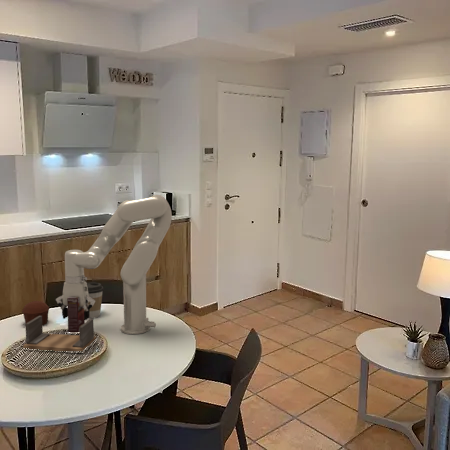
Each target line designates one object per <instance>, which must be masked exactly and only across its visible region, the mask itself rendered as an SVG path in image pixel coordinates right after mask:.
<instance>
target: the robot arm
mask: <svg viewBox="0 0 450 450" xmlns="http://www.w3.org/2000/svg"><path fill="white" fill-rule="evenodd" d="M172 214H173V213H172V209H171V206H170V204H169V202H168V200H167V199H166V197H164V196H162V195H161V194H154V195H151V196H150V197H146V198H141V199H134V200H133V199H126V200H124V201H122V202H121V203H120V204H119V205H118V207H117V208H116V209H115V211H114V213H113V214H112V215H111V217H110V218H109V220H108V221H107V222H106V223H105V225H104V226H103V227H102V230H101V232H100V234H99V236H98V237H97V238H96V240H95V241H94V243H93V244H92V245H91V246H90V247H89V249H88V250H87V251H83V250H80V249H70V250H69V249H68V250H66V251H65V253H64V271H65V272H64V274H65V277H64V278H65V281H64V282H63V288H62V295H60V296H58V297H57V298H55V301H56V303H57V306H59V308H60V309H61V316H62V319H63V320H65V319H66V318H68V307H67V298H68V297H79V304H80V306H82V307H83V308H84V309H85V311H84V320H85V321H88V320H89V319H90V318H89V316H90V313H89V309H90V308H91V307H93V305H94V303H95V300H94V299H92V298H90V297H89V294H88V287H87V283H88V282H87V280H88V277H86V276H85V269H88V270H93V269H97V268H98V267H99V266H101V264H102V262H103V261H104V260H105V258H106V257H107V255H108V254H109V253H110V251H111V250H112V248H113V247H114V246H115V244H117V243H118V242H119V241H120V240H121V238H123V236H124V235H125V233H126V232H127V231H128V230H129V228H130V227H131V226H132V224H133V223H134V222H139V221H146V220H150V221H149V222H148V224H147V226H146V227H145V230H144V232H143V233H142V235H141V236H140V238H139V239H138V240H137V242H136V243H135V245H134V247H133V249H132V250H131V252H130V254H129V256H128V258H127V259H126V260H125V262H124V264H123V265H122V268H121V270H120V278H121V280H122V282H123V283H122V285H123V287H122V290H123V294H122V295H123V325H121V326H120V331H121V333H123V334H127V335H140V334H144V333H147V332H148V331H150V330H151V328H154V329H155V328H156V325H157V324H156V322H155V321H150V320H149V317H147V273H148V271H149V270H150V269H151V268H150V267H151V266H152V264H153V262H154V261H155V259H156V257H157V254H158V252H159V251H158V250H159V248H160V245H161V244H162V242H163V240H164V238H165V237H166V234H167V233H168V231H169V229H170V227H171V223H172V220H173V219H172V218H173V216H172ZM89 301H90V305H88V304H87V303H89Z"/></svg>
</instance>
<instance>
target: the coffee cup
mask: <svg viewBox="0 0 450 450" xmlns="http://www.w3.org/2000/svg"><path fill="white" fill-rule="evenodd" d="M86 283H87V287H88V294H89V297H90V298H92V299H94V300H95V303H94V305H93V307H91V308H90V309H89V313H90V316H89V318H88V319H96V318H99V317H100V316H101V312H102V311H101V310H102V302H103V301H102V300H103V291H104V290H105V289H104V286H102V283H100V282H86ZM87 304H88V305H90V301H89V303H87ZM84 311H85V309H84Z"/></svg>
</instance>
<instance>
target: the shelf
mask: <svg viewBox="0 0 450 450" xmlns="http://www.w3.org/2000/svg"><path fill="white" fill-rule="evenodd" d="M94 324H95V323H94V318H88V319H87V320H86V321H85V323H84V324H83V325H82V326H80V327H79V332H80V334H79V335H69V334H63V333H61V334H60V333H59V334H58V333H45V332H44V331H43V326H42V316H38V317H36V318H34V319H33V320H31V321H29V322H28V323H25V341H26V343H24V344H23V348H29V349H40V350H54V351H83V350H84V349H85V348H86V347H87V346H89V345H90V344H91V343H92V342H93V341H94V340H95V339H96V338H98V337H97V336H95V330H94V329H95V328H94V327H95V325H94Z"/></svg>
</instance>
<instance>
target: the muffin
mask: <svg viewBox="0 0 450 450" xmlns="http://www.w3.org/2000/svg"><path fill="white" fill-rule="evenodd" d="M49 311H50V307H49V305H47V303H46V302H43V301H41V300H33V301H30V302H28V303H26V304H25V305H24V306H23V309H22V310H21V312H22V313H23V318H24V323H25V324H26V323H28V322H29V321H31V320H33V319H34V318H36V317H38V316H42V327H43V326H44V325H47V323H48V321H49V320H48V318H49V313H50V312H49Z"/></svg>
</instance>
